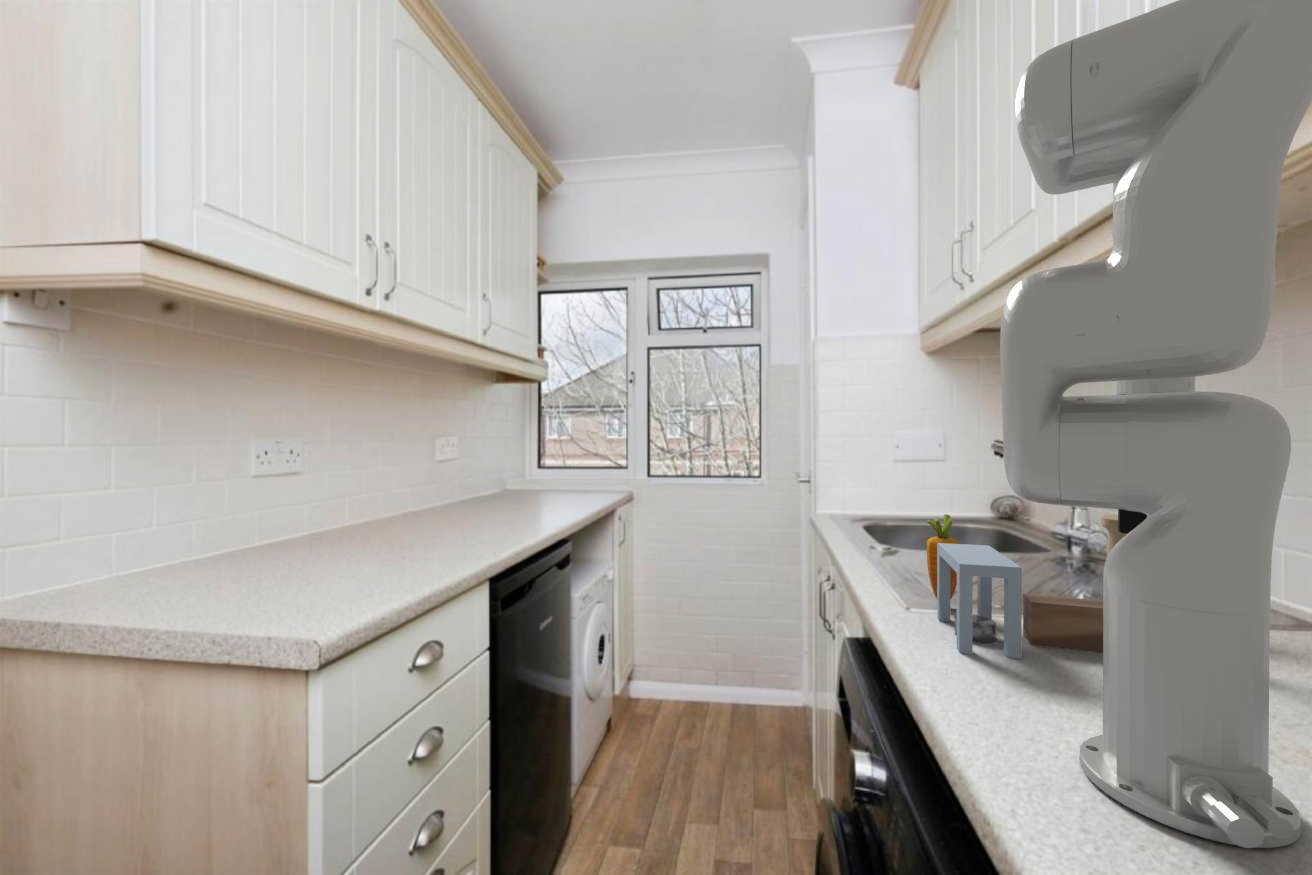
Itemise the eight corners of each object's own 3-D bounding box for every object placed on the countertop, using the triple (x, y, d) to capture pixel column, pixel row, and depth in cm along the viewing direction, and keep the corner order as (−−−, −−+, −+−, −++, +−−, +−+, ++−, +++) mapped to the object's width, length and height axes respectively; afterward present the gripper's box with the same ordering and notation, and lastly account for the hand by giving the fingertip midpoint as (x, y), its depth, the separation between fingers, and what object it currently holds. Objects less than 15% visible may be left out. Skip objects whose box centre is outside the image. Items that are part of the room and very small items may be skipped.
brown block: (1203, 665, 68) (1203, 617, 68) (1031, 646, 74) (1031, 601, 74) (1185, 653, 72) (1185, 607, 72) (1023, 636, 78) (1023, 593, 78)
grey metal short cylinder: (1001, 645, 74) (1001, 628, 74) (959, 642, 76) (959, 624, 76) (989, 632, 79) (990, 616, 79) (951, 629, 81) (951, 613, 81)
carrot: (939, 612, 88) (939, 517, 87) (919, 603, 92) (919, 513, 92) (967, 610, 88) (967, 516, 88) (946, 601, 93) (946, 512, 93)
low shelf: (1021, 658, 70) (1021, 567, 70) (959, 652, 72) (959, 563, 72) (988, 621, 83) (988, 545, 83) (937, 617, 85) (937, 542, 85)
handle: (1145, 612, 87) (1146, 517, 87) (1137, 622, 83) (1137, 521, 83) (1106, 605, 91) (1107, 514, 91) (1096, 613, 87) (1097, 518, 86)
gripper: (1239, 406, 62) (1238, 557, 62) (1151, 409, 79) (1150, 529, 79) (1158, 407, 64) (1157, 554, 65) (1088, 410, 81) (1088, 527, 81)
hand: (1153, 540), depth 72 cm, fingers open, 9 cm apart
